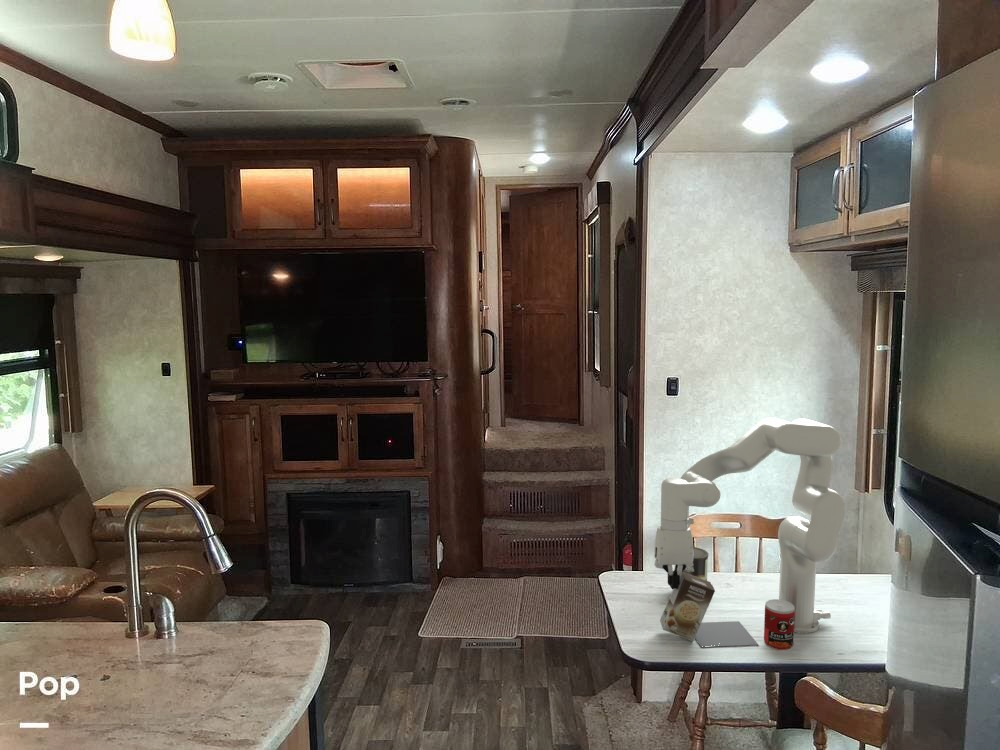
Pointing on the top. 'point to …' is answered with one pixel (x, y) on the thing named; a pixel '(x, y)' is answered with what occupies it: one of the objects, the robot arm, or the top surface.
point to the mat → (724, 634)
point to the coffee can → (699, 564)
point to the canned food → (779, 624)
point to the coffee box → (687, 606)
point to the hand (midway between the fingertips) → (673, 586)
